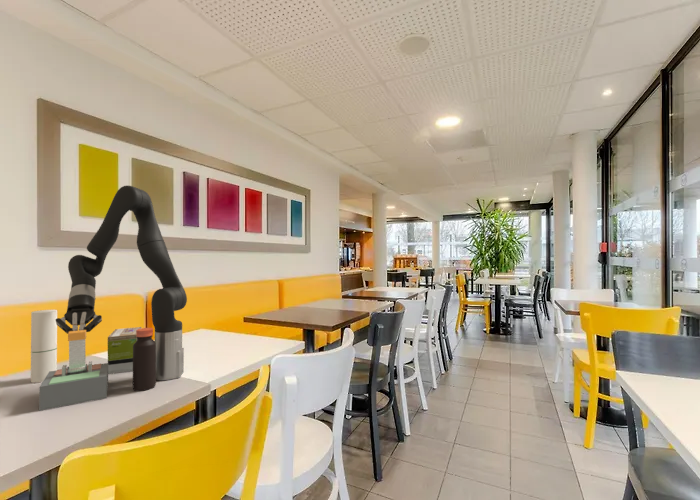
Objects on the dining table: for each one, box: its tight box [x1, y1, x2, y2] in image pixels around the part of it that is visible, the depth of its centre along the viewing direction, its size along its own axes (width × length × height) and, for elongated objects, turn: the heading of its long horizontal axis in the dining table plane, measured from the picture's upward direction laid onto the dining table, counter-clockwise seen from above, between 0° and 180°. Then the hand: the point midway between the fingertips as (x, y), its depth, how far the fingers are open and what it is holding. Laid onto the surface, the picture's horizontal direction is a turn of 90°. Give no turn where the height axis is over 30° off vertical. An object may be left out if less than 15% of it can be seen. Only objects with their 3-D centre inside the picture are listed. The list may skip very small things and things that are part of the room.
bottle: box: [132, 327, 157, 392], centre depth 117 cm, size 7×7×20 cm
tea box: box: [107, 326, 142, 375], centre depth 139 cm, size 15×10×15 cm
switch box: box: [38, 360, 109, 412], centre depth 111 cm, size 16×16×10 cm
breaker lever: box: [67, 329, 88, 374], centre depth 111 cm, size 5×3×14 cm, turn 124°
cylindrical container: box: [30, 309, 58, 384], centre depth 126 cm, size 7×7×25 cm
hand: (76, 342), depth 111 cm, fingers closed
